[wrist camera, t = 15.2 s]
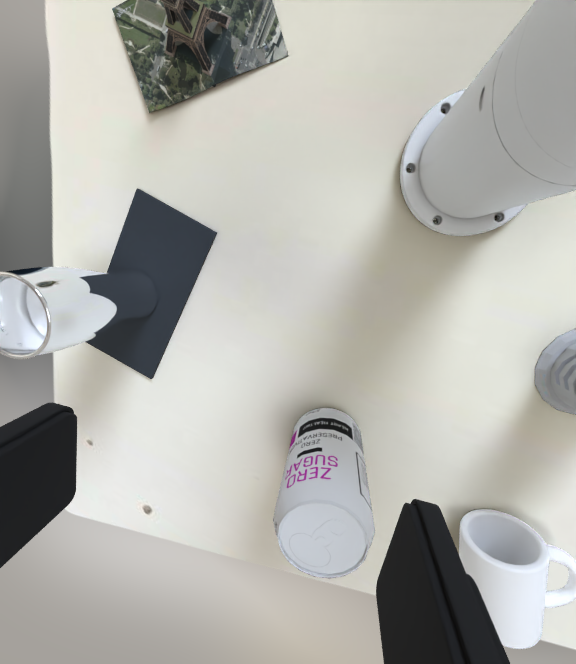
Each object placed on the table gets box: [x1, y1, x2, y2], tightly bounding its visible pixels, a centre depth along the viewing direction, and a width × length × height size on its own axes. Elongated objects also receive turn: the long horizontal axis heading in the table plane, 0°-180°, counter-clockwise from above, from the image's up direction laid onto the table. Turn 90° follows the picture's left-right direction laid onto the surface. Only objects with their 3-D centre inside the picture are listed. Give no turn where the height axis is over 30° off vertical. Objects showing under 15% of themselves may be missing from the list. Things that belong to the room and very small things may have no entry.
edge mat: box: [86, 189, 217, 379], centre depth 38 cm, size 20×10×1 cm, turn 152°
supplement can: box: [273, 408, 375, 578], centre depth 32 cm, size 8×8×15 cm
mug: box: [459, 509, 576, 649], centre depth 35 cm, size 12×10×8 cm
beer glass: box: [0, 267, 158, 359], centre depth 31 cm, size 7×7×15 cm
